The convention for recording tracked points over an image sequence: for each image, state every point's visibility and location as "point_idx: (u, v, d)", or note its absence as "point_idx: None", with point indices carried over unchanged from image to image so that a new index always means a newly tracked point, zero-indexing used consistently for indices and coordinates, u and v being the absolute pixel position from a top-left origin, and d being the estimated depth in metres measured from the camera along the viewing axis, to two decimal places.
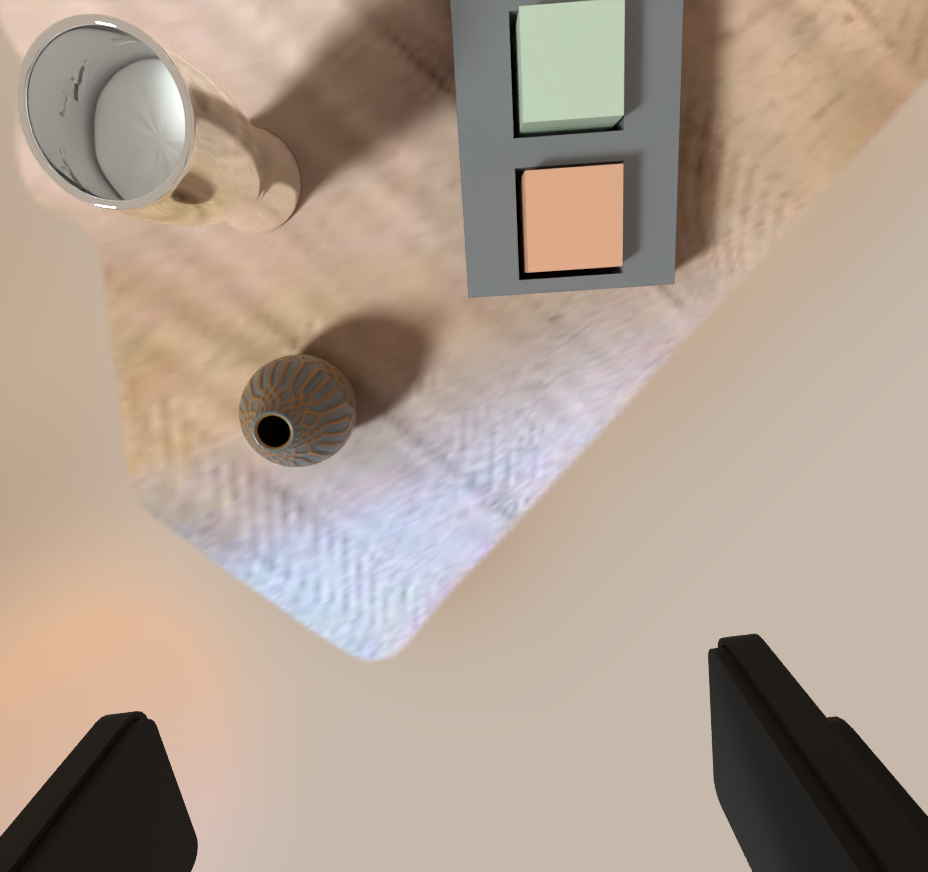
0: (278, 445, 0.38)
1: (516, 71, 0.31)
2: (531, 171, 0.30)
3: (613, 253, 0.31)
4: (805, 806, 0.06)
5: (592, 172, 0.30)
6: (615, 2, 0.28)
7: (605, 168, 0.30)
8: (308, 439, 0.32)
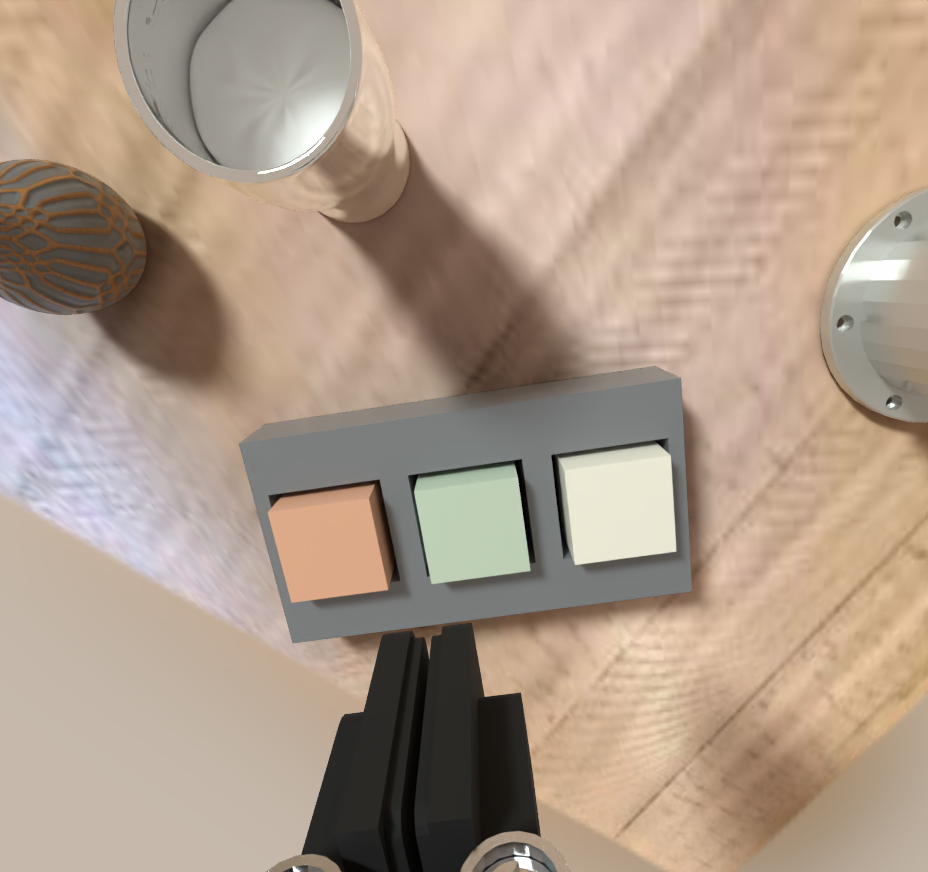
0: None
1: None
2: (368, 504, 0.29)
3: (302, 592, 0.30)
4: None
5: (376, 562, 0.29)
6: (526, 563, 0.29)
7: (381, 574, 0.30)
8: None
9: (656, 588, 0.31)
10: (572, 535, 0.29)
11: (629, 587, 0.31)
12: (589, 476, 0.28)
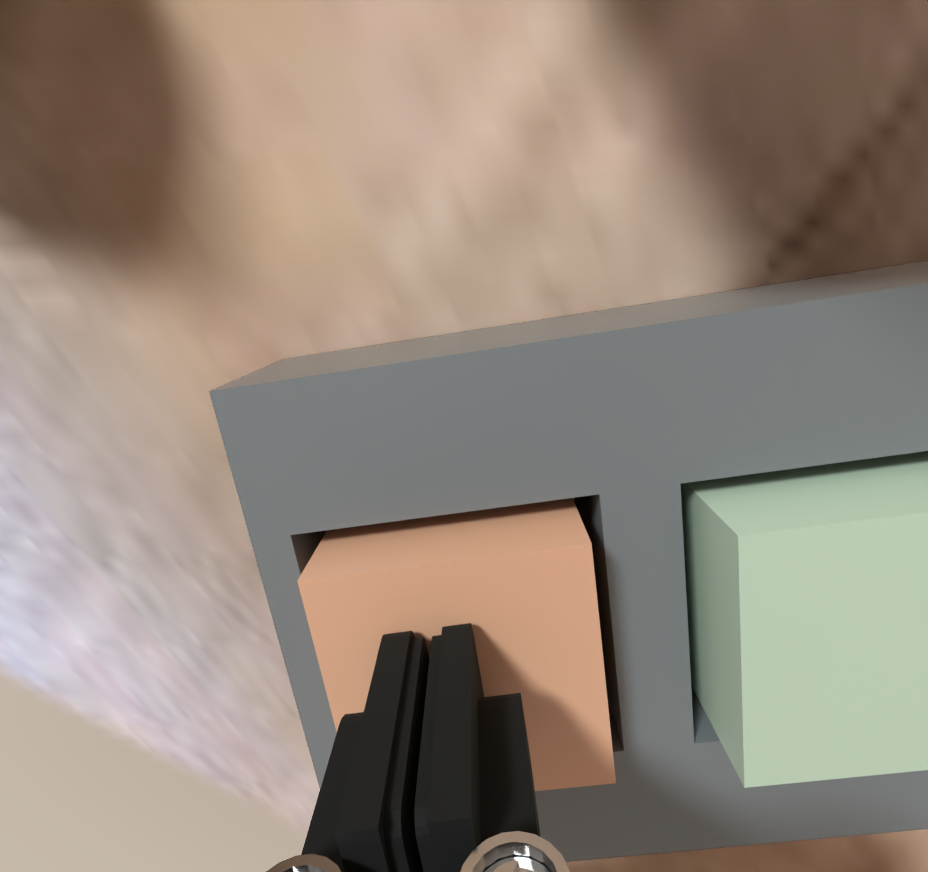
0: None
1: None
2: (589, 562, 0.10)
3: None
4: None
5: (591, 716, 0.11)
6: None
7: (602, 745, 0.11)
8: None
9: None
10: None
11: None
12: None
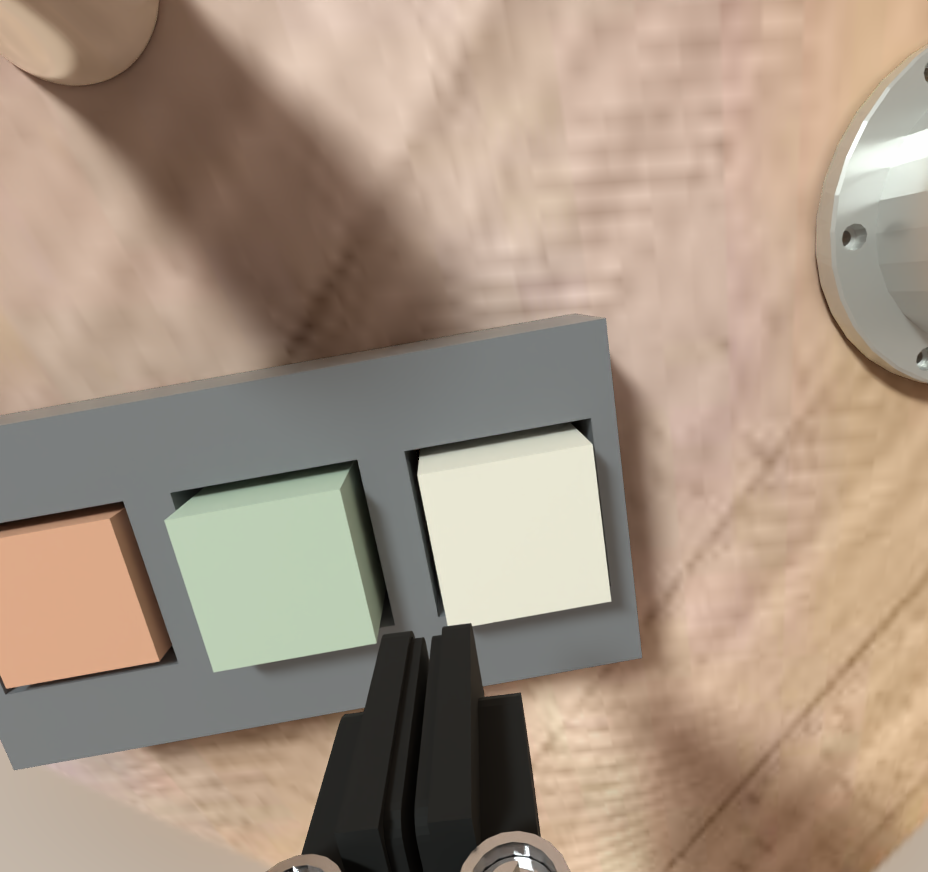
0: None
1: (293, 473, 0.19)
2: (111, 529, 0.18)
3: (21, 672, 0.19)
4: None
5: (134, 620, 0.19)
6: (368, 631, 0.18)
7: (145, 637, 0.19)
8: None
9: (587, 655, 0.20)
10: (440, 582, 0.18)
11: (545, 656, 0.20)
12: (459, 483, 0.17)
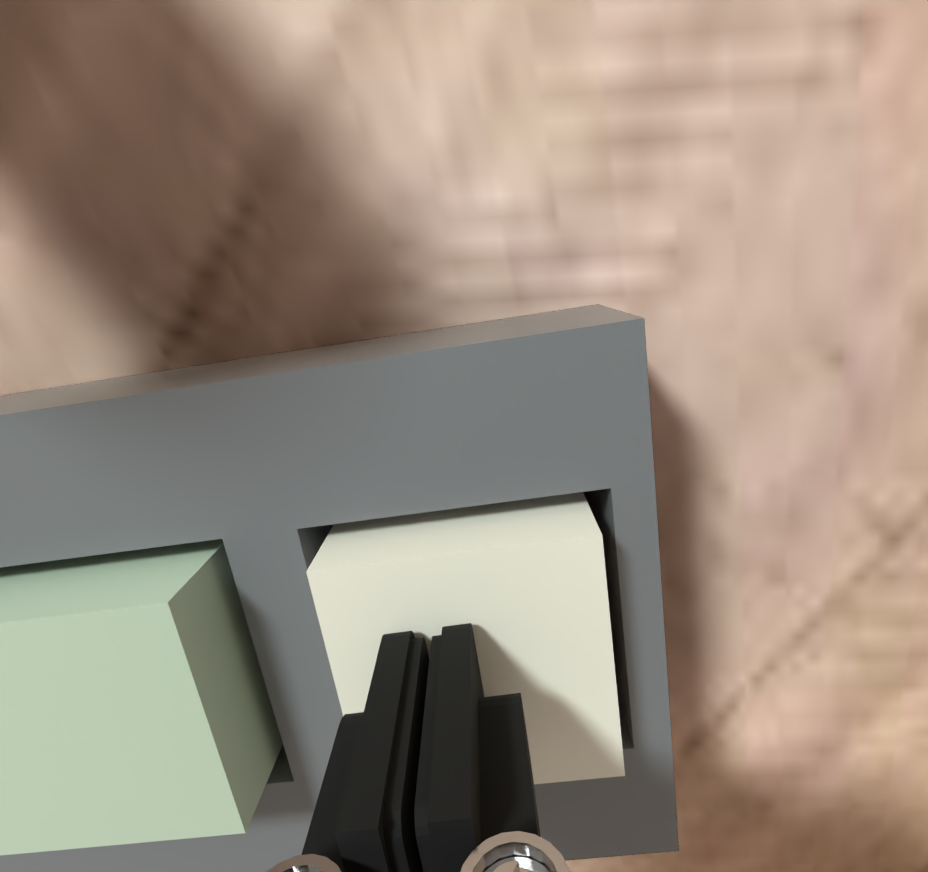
0: None
1: None
2: None
3: None
4: None
5: None
6: (231, 815, 0.11)
7: None
8: None
9: (591, 841, 0.13)
10: None
11: None
12: (376, 587, 0.10)
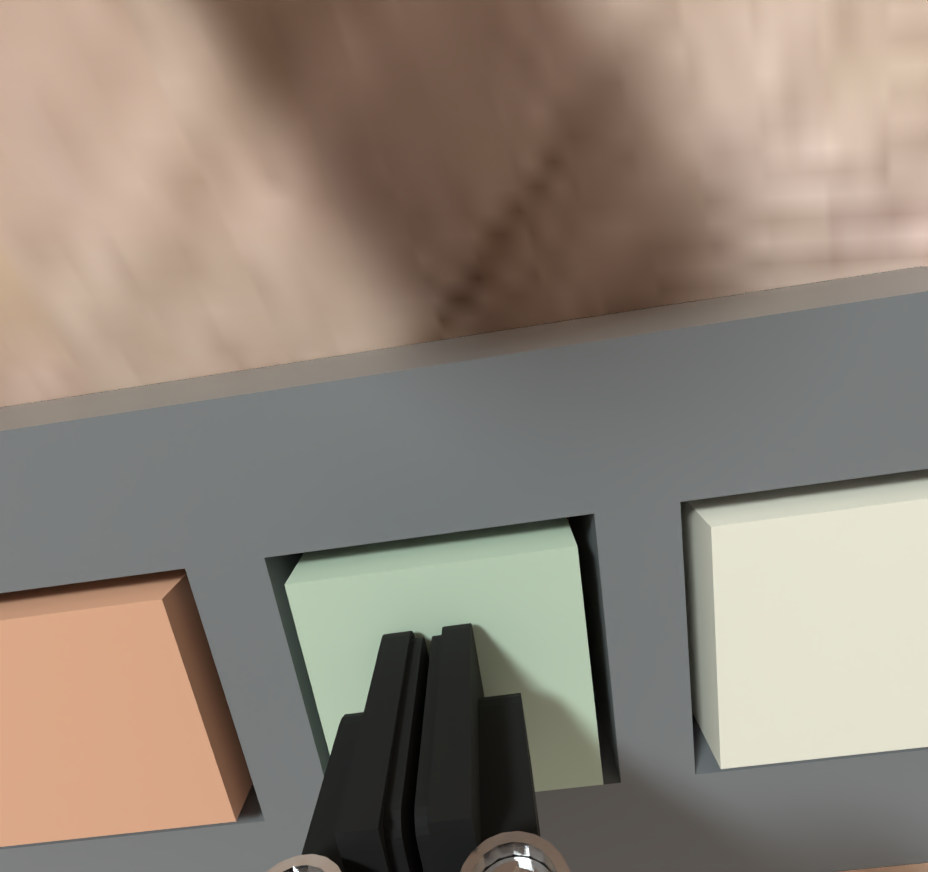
0: None
1: None
2: (164, 616, 0.10)
3: (19, 825, 0.12)
4: None
5: (199, 759, 0.11)
6: (592, 765, 0.11)
7: (215, 786, 0.11)
8: None
9: None
10: (720, 697, 0.11)
11: (864, 842, 0.12)
12: (780, 543, 0.10)
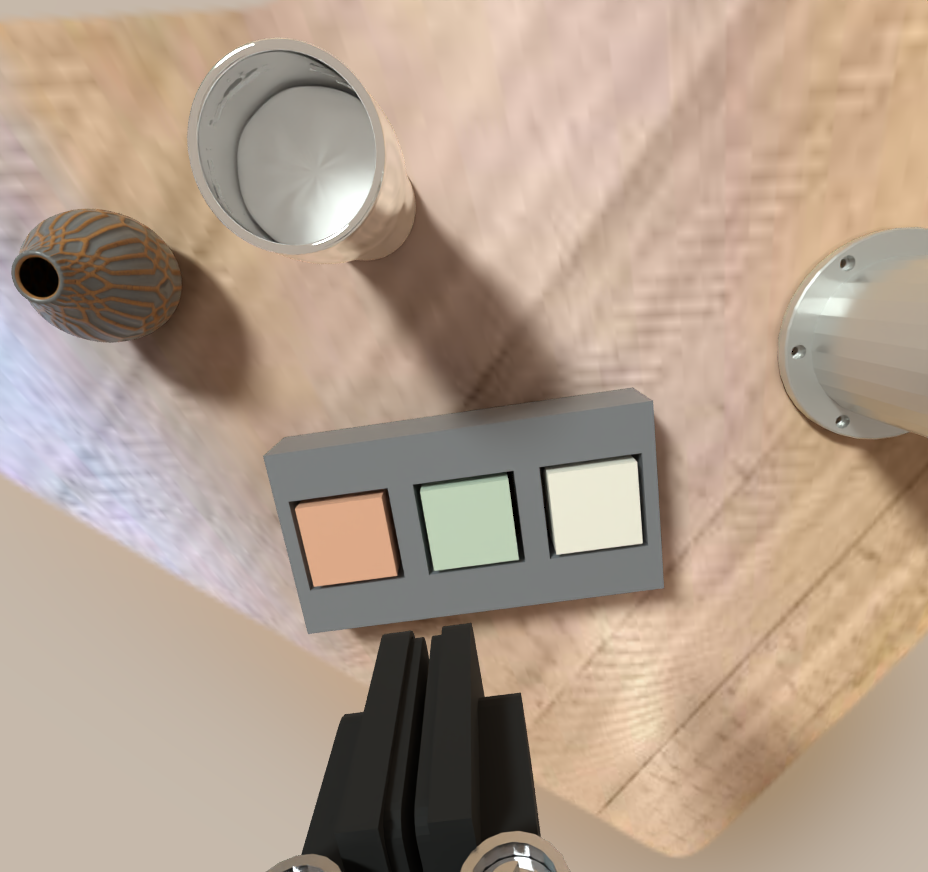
0: None
1: None
2: (381, 502, 0.34)
3: (323, 578, 0.35)
4: None
5: (387, 552, 0.34)
6: (515, 552, 0.34)
7: (391, 562, 0.35)
8: (49, 311, 0.27)
9: (632, 585, 0.35)
10: (554, 529, 0.34)
11: (608, 584, 0.35)
12: (568, 479, 0.33)
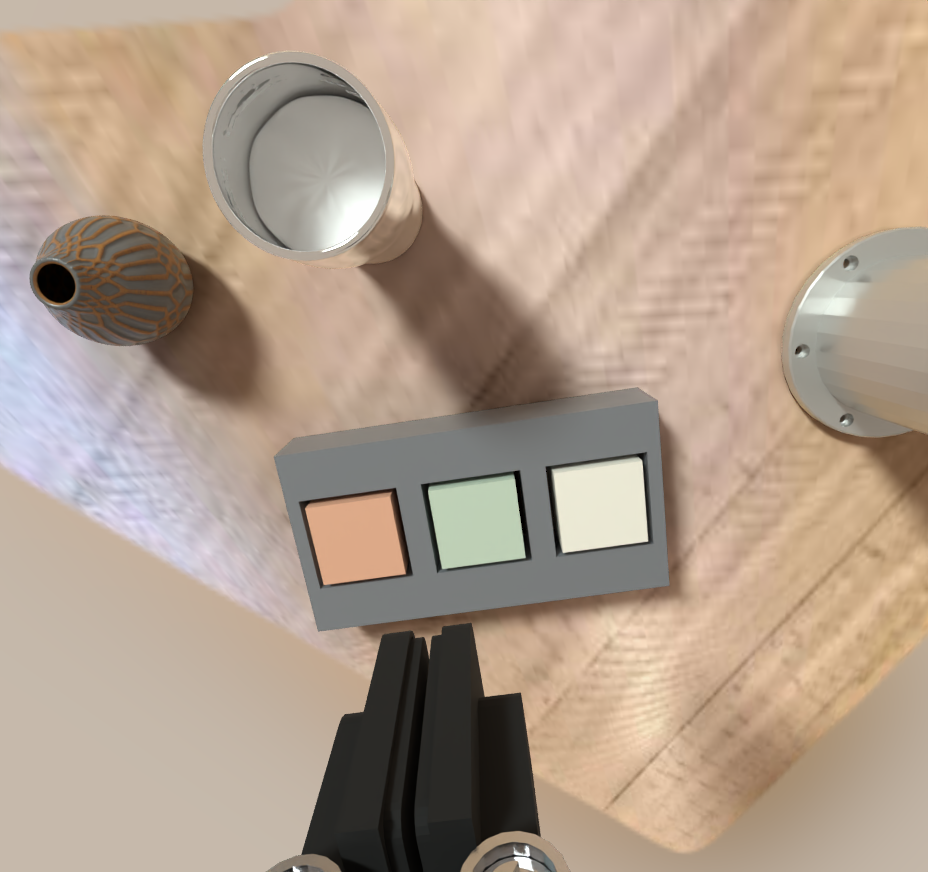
0: None
1: None
2: (390, 502, 0.34)
3: (333, 576, 0.35)
4: None
5: (395, 551, 0.35)
6: (522, 551, 0.35)
7: (400, 560, 0.35)
8: (65, 316, 0.28)
9: (638, 582, 0.36)
10: (560, 527, 0.34)
11: (614, 582, 0.36)
12: (574, 478, 0.34)
